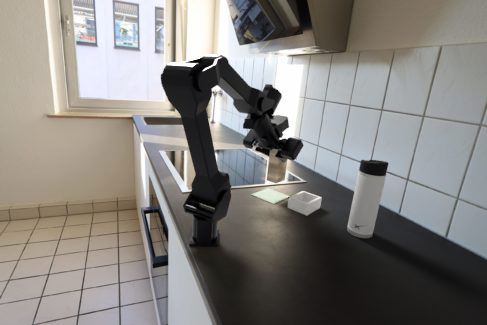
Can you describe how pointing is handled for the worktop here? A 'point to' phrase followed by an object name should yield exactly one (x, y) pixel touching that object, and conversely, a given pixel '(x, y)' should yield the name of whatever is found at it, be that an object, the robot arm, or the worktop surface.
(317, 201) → the holder box
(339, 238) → the worktop surface
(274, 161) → the tall tan tower
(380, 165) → the travel mug
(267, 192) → the mat
